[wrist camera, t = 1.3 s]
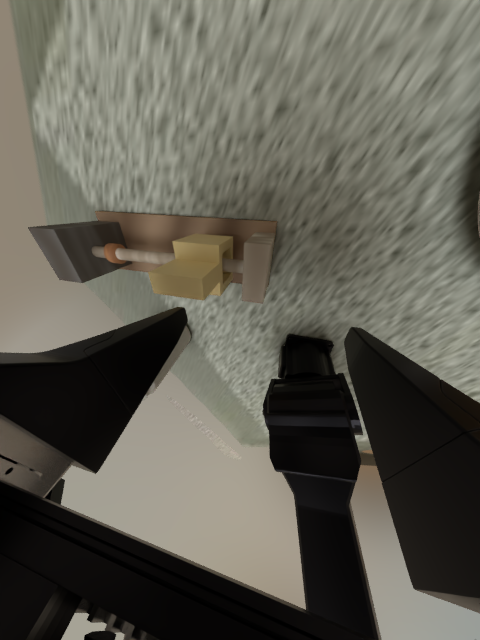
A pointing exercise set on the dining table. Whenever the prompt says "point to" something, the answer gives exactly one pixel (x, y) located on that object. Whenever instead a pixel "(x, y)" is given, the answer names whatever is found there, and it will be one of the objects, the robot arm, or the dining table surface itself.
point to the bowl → (479, 214)
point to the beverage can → (171, 360)
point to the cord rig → (155, 246)
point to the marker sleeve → (195, 267)
